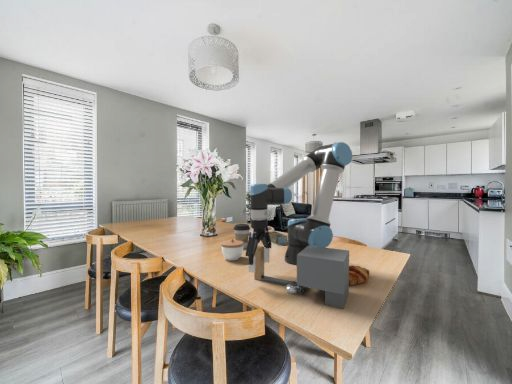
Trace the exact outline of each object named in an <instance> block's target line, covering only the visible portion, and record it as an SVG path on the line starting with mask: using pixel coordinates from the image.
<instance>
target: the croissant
mask: <svg viewBox="0 0 512 384" xmlns="http://www.w3.org/2000/svg"><path fill="white" fill-rule="evenodd" d="M369 276H370V269H367V268H365V267H362V266H360V265H351V264H349V286H354V285H355V286H356V285H361V284H363V283H365V282H367V281H368V280H369Z"/></svg>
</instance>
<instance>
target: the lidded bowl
mask: <svg viewBox="0 0 512 384" xmlns="http://www.w3.org/2000/svg"><path fill="white" fill-rule="evenodd" d="M243 245H244V242H243V241H239V240H235V239H234V238H231V239H229V240H224V241H221V243H220V246H221V253H222V256H223V257H224V258H225V259H226V260H227V261H238V260H239V259H240V257H241V256H242V255H243V252H244V249H243Z"/></svg>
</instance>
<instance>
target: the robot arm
mask: <svg viewBox="0 0 512 384" xmlns="http://www.w3.org/2000/svg"><path fill="white" fill-rule="evenodd" d="M352 160H353V151H352V149H351V147H350V146H349V144H347V143H346V142H343V141H339V142H338V141H337V142H333V143H330V144H326V145H321V146H318V147H316V148H315V149H313V150H312V151H311V152H309V153H308V154H306V155H305V156H304V157H303V158H302V160H301V161H299V162H298V163H296V164H295V165H294V166H292V167H291V168H290V169H288V170H287V171H285V172H284V173H283V174H281V175H280V176H278V177H277V178H276V179H274V180H272V181H271V182H269V183H252V184H251V185H250V187H249V188H250V189H249V196H250V197H249V198H250V229H253V231H252V232H251V231H249V239H248V245H247V248H246V250H245V253H244V254H245V257H248V272H250V273H255V272H256V271H255V256H254V255H255V252H256V249H257V246H259V245H258V244H259V243H260V241H261V243H262V245H263V247H264V263H267V264H269V263H270V249H272V242H271V240H270V236H269V232H270V231H269V225H268V223H269V220H268V215H269V212H268V207H269V206H272V205H273V206H274V205H287V204H289V203H291V201H292V200H293V192H292V190H291V189H290V187H292V186H293V185H295V184H296V183H297V182H299V181H300V180H301V179H303V178H304V177H305V176H307V175H308V174H309V173H313V172H315V171H317V170H318V169H321V171H322V172H321V174H320V177H319V178H320V179H319V182H318V187H317V190H316V195H315V198H314V202H313V207H312V210H311V213H310V215H309V216H307V217H306V218H291V219H289V220H287V247H286V251H285V253H284V262H285V263H288V264H291V265H296V266H297V254H299V253H300V252H301V251H302V250H303V249H305V248H306V247H307V246H316V247H324V248H328V246H330V244H331V243H332V241H333V238H334V233H333V230H332V228H331V222H330V214H331V211H332V206H333V202H334V198H335V194H336V190H337V186H338V182H339V178H340V174H342V173H343V172H344V170H345V167H346V166H348V165H349V164H350V163H352Z"/></svg>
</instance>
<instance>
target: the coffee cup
mask: <svg viewBox="0 0 512 384" xmlns="http://www.w3.org/2000/svg"><path fill="white" fill-rule="evenodd" d="M233 230H234V238H235V239H234V240H239V241H243V242H244V245H243V250H245V249H247V245H248V240H249V233H250V230H251V226H250V225H249V224H248V223H237V224H235V225H234V227H233Z"/></svg>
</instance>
